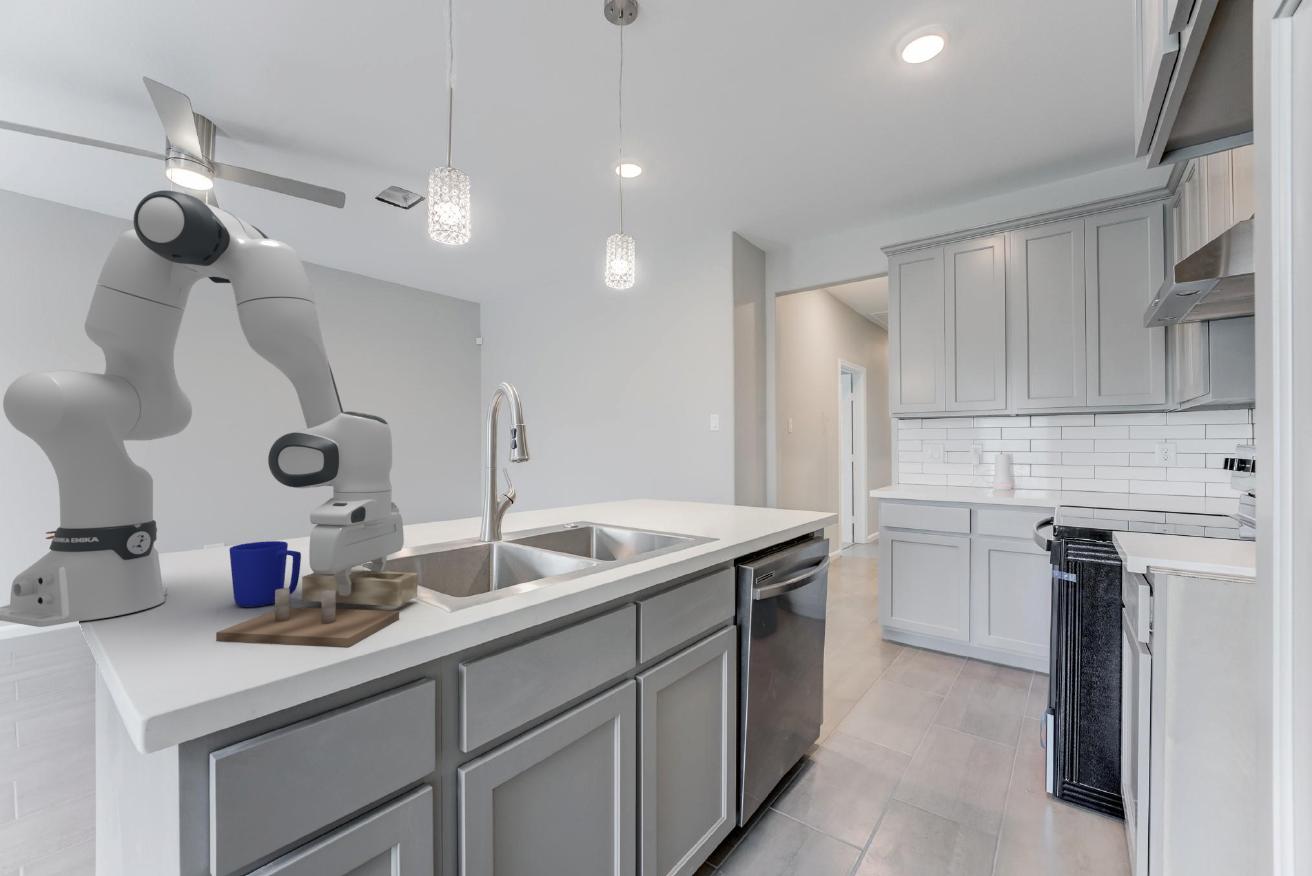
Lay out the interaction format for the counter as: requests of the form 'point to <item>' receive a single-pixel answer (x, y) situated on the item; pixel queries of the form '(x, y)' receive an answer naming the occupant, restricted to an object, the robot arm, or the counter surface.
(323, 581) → the two-compartment stone tray
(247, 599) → the mug
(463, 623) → the counter surface
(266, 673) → the counter surface
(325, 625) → the board
